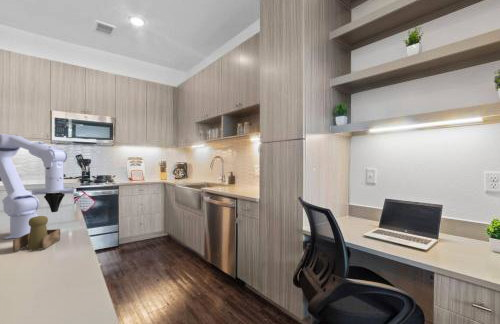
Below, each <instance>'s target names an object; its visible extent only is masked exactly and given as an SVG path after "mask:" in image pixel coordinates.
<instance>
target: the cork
mask: <svg viewBox="0 0 500 324" xmlns="http://www.w3.org/2000/svg"><path fill="white" fill-rule="evenodd" d="M48 222H49V218H48V217H47V216H45V215H38V216H36V217H33V218H31V219H30V220H29V226H31V228H30V234H29V240H28V245H27V246H26V247H27V248H26V249H27V250H28V251H36V250H42V238H43V237H45V236H47V235H48V233H47V230H48V229H47V224H48Z"/></svg>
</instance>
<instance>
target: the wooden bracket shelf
mask: <svg viewBox="0 0 500 324" xmlns="http://www.w3.org/2000/svg"><path fill="white" fill-rule="evenodd" d="M47 233H48V235H47V236H45V237H43V238H42V249H41V250H46V249H47V248H48V247H50V246H52V245H54V244H55V243H57V242H59V241H60V240H61V228H56V229H47ZM29 234H30V233H28V234H26V235H23V236H21V237H19V238H14V239H12V253H17V252H19V251H20V250H22V249H23V248H25V247H27V246H28V240H29Z"/></svg>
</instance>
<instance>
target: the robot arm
mask: <svg viewBox="0 0 500 324" xmlns="http://www.w3.org/2000/svg"><path fill="white" fill-rule="evenodd" d="M45 143H46V142H43V141H38V142H37V141H36V142H33V141H30V140H28V139H27V138H24V137H23V135H18V134H7V133H0V180H1V182H2V184H3V186H4V188H5V191H6V194H7V195H6V196H5V197H4V198H3V199H2V204H3V211H4V213H5V215H7V216H8V217H9V231H10V232H9V235H8V236H5V237H3V239H4V240H6V239H7V240H9V239H17V238H19V237H21V236H23V235H26V234H28V233H30V228H31V226H29V220H30V219H31V218H33V217H36V216H39V215H38V214H37V210H38V209H39V208H40V204H41V203H40V200H39V198H38V197H37V196H35V195H43V199H44V200H45V201H46V202H47V204H48V206H49V208H50V212H51V213H57V212H59V209H60V208H59V207H60V205H61V202H62V201H63V198H65V196H66V195H67V194H72V195H73V194H77V188H76V187H75V188H64V187H65V186H64V178H65V177H64V174H65V173H64V163H65V162H66V161H67V159H68V154H67V152H66V150H64V149H62V148H57V149H56V148H55V147H54V146H51V145H47V144H45ZM21 148H22V149H24V150H26V151H28V153H29V154H30V155H32V156H34V157H37V158H39V159H41V161H42V163H43V166H44V168H45V169H44V175H45V179H44V181H45V182H44V186H45V188H43V189H32V190H31V191H30V190H27V189H26V188H25V186H24V184H23V181H22V180H21V177H20V175H19V173H18V171H17V168H16V167H15V164H14V162H13V160H12V157H14V156H15V155H16V154H17V153H18V152H19V150H20V149H21Z"/></svg>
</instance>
